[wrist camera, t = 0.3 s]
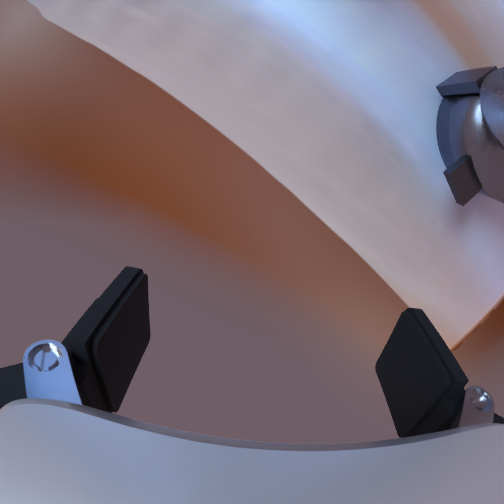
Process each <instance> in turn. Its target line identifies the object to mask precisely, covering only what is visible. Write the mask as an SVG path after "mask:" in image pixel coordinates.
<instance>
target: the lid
mask: <svg viewBox="0 0 504 504" xmlns="http://www.w3.org/2000/svg"><path fill="white" fill-rule="evenodd" d="M480 107H481V112H482V115H483V119H484V121H485V123H486V125H487V127H488V129H489V131H490V132H491V134H492V136H493V137H494V139H495V140H496V141H497V143H498V144H499V145H500V146H501V148H502V149H503V150H504V67H503V68H499V69H497V70H494V71H493V72H491V73H490V74H488V75H487V76H486V77H485V79H484V80H483V82H482V85H481V89H480Z"/></svg>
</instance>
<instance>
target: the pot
mask: <svg viewBox="0 0 504 504" xmlns="http://www.w3.org/2000/svg"><path fill="white" fill-rule="evenodd" d="M494 70H497V67H496V66H492V67H485V68H479V69H472V70H467V71H461V72H457V73H455V74H454V75H452V76H451V77H449V78H448V79H446V80H445V81H444V82H442V83H441V84H439V85H438V86H436V88H437V89H438V91H439V93H440V94H441V96H443V95H445V96H444V98H443V100H442V102H441V104H440V107H439V111H438V116H437V127H436V128H437V140H438V146H439V150H440V153H441V156H442V159H443V161H444V164H445V166H446V167H447V169H446V170H445V171H444V172H443V173H444V175H445V177H446V179H447V182H448V184H449V186H450V188H451V191H452V193H453V195H454V198H455V200H456V202H457V203H458V204H460V205H462V206H464V205H465V204H466V203H467V202H468V201H469V200H470V199H471V198H473V197H474V196H475V195H476V194H477V193H478V192H480V193H482V194H484V195H487V196H489V197H491V198H493V199H496V200H498V201H500V202H502V203H504V150H503V149H502V148H501V146H500V145H499V144H498V143H497V141H496V140H495V139H494V137H493V136H492V134H491V132H490V131H489V129H488V127H487V125H486V123H485V121H484V119H483V115H482V112H481V107H480V89H481V85H482V82H483V80H484V79H485V77H486V76H487V75H488V74H490V73H491V72H493V71H494Z"/></svg>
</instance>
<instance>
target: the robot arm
mask: <svg viewBox="0 0 504 504" xmlns="http://www.w3.org/2000/svg"><path fill="white" fill-rule="evenodd" d="M149 340H150V321H149V302H148V276H147V274H143V270H142V269H139V268H134V267H128V266H126V267H125V268H124V269H123V270H122V271H121V273H120V274H119V275H118V276H117V277H116V278H115V280H114V281H113V282H112V283H111V284H110V285H109V287H108V288H107V289H106V290H105V291H104V293H103V294H102V295H101V296H100V297H99V298H97V299H96V300H95V301H94V302H93V304H92V305H91V306H90V307H89V308H88V310H87V311H86V312H85V313H84V315H83V316H82V317H81V318H80V320H79V321H78V322H77V324H76V325H75V326H74V327H73V328H72V330H71V331H70V332H69V334H68V335H67V336H66V338H65V339H64V340H63V341H62V343H59V342H57V341H54V340H41V341H38V342H35V343H34V344H32V345H31V346H30V347H29V348H28V349H27V350H26V352H25V354H24V356H23V363H20V364H16V365H12V366H8V367H4V368H0V504H504V418H503V417H501V416H499V415H497V414H495V413H494V401H493V398H492V397H491V395H490V394H489V393H488V392H487V391H486V390H485V389H483V388H482V387H479V386H474V385H473V386H470V387H469V388H467V390H466V391H465V389H464V386H465V385H466V384H467V382H468V379H467V377H466V375H465V374H464V372H463V370H462V369H461V367H460V365H459V364H458V362H457V361H456V359H455V357H454V356H453V355H452V353H451V351H450V350H449V348H448V347H447V345H446V343H445V342H444V340H443V339H442V337H441V336H440V334H439V333H438V332H437V330H436V329H435V327H434V326H433V324H432V323H431V321H430V320H429V319H428V317H427V316H426V314H425V313H424V312H423V310H422V309H416V308H407V309H406V310H405V311H404V312H402V314H401V315H400V318H399V320H398V322H397V324H396V326H395V328H394V330H393V332H392V334H391V336H390V338H389V340H388V342H387V344H386V346H385V347H384V349H383V351H382V353H381V355H380V357H379V359H378V360H377V363H376V367H375V368H376V373H377V375H378V378H379V381H380V384H381V387H382V389H383V392H384V395H385V397H386V401H387V404H388V407H389V409H390V412H391V415H392V418H393V421H394V425H395V427H396V431H397V434H398V436H399V437H401V438H397V439H389V440H380V441H370V442H357V443H337V444H291V443H272V442H259V441H248V440H238V439H230V438H222V437H215V436H208V435H203V434H197V433H192V432H187V431H182V430H177V429H172V428H167V427H163V426H158V425H154V424H150V423H146V422H141V421H138V420H134V419H131V418H127V417H124V416H120V415H116V414H113V413H112V412H117V411H118V410H119V407H120V405H121V403H122V401H123V398H124V396H125V394H126V392H127V389H128V387H129V385H130V382H131V380H132V378H133V376H134V374H135V371H136V369H137V367H138V365H139V363H140V360H141V358H142V356H143V354H144V352H145V349H146V348H147V345H148V343H149Z"/></svg>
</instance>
